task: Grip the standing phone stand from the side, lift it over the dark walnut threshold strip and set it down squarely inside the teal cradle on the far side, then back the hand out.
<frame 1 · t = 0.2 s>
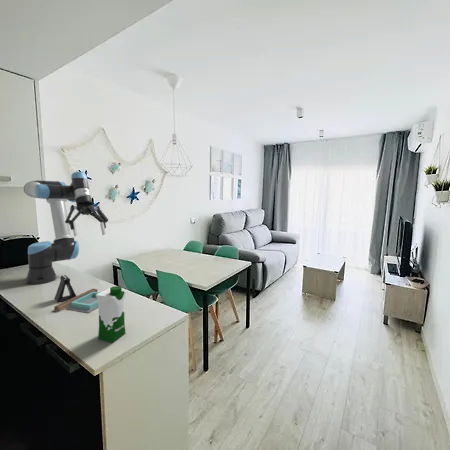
hand: (90, 234, 131), 34 cm above the table, tool tilted 30°, fingers open, 13 cm apart
cradle: (91, 303, 128), on the table
phone stand: (65, 299, 132), on the table
milk carton: (112, 336, 100), on the table
threshold strip: (77, 300, 130), on the table
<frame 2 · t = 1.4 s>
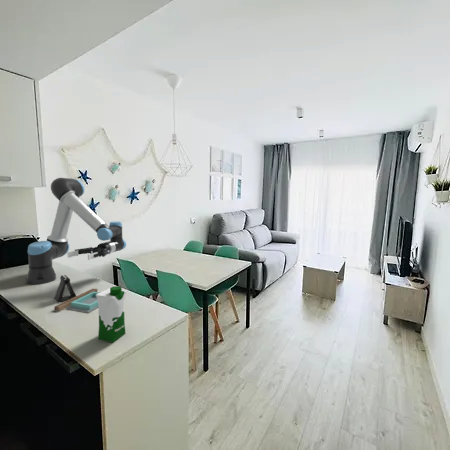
hand: (78, 256, 138), 21 cm above the table, tool horizontal, fingers open, 13 cm apart
nothing on the table moved.
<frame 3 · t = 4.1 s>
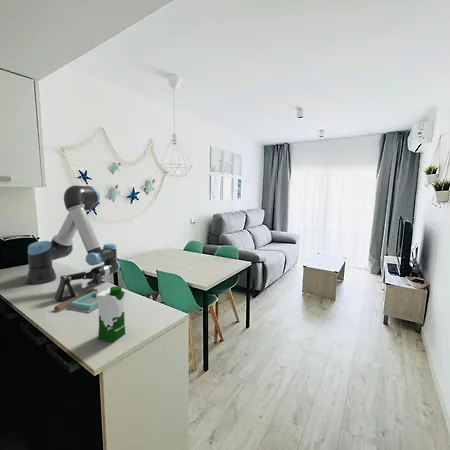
hand: (71, 284, 134), 7 cm above the table, tool horizontal, fingers open, 13 cm apart
nothing on the table moved.
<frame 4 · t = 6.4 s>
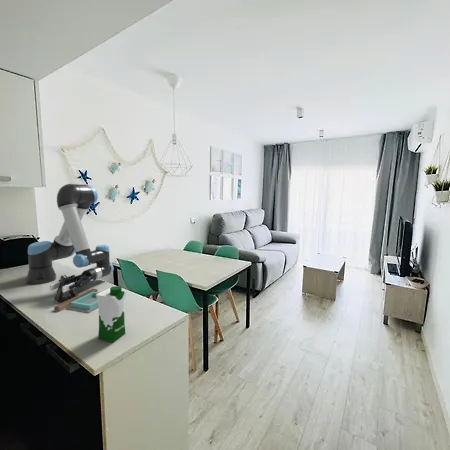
hand: (56, 288, 126), 7 cm above the table, tool horizontal, fingers closed on phone stand, 7 cm apart
phone stand: (65, 299, 132), on the table, touching gripper
everything else where it was.
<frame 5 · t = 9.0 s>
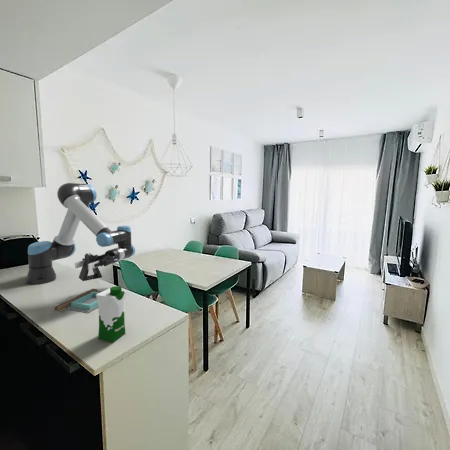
hand: (82, 266, 121), 20 cm above the table, tool horizontal, fingers closed on phone stand, 7 cm apart
phone stand: (90, 278, 127), point 13 cm above the table, touching gripper
everything else where it was.
when the fingers open (10 cm above the table, at t = 11.8 s): phone stand stays where it is, resting on cradle.
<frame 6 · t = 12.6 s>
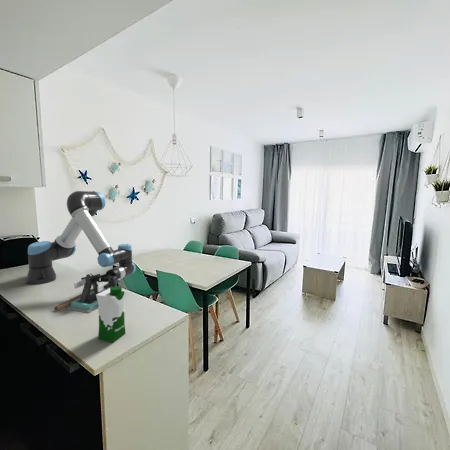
hand: (86, 287, 124), 9 cm above the table, tool horizontal, fingers open, 13 cm apart
phone stand: (91, 298, 128), point 2 cm above the table, touching cradle
everything else where it was.
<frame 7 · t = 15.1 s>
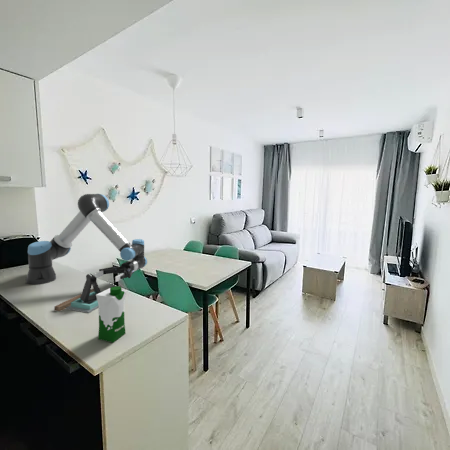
hand: (104, 277, 137), 10 cm above the table, tool horizontal, fingers open, 13 cm apart
nothing on the table moved.
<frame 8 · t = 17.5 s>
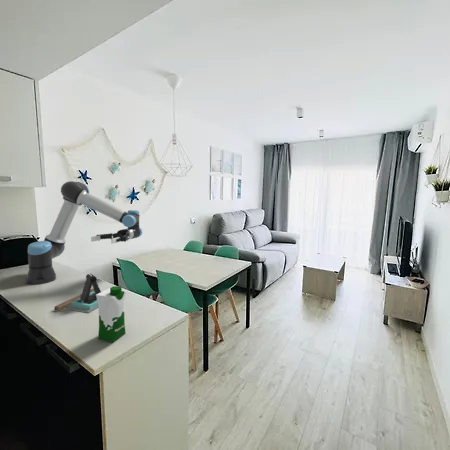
hand: (101, 240, 146), 28 cm above the table, tool horizontal, fingers open, 13 cm apart
nothing on the table moved.
at the end: phone stand 0.1 cm off-centre on the cradle, point 2.4 cm above the cradle's base; phone stand tilted 0°; the gripper is holding nothing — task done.
